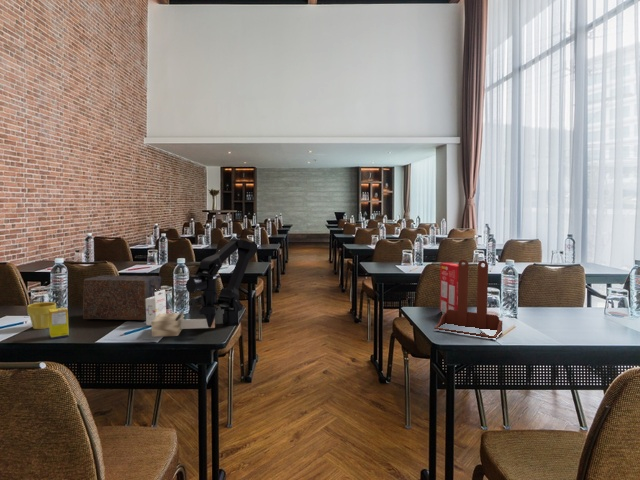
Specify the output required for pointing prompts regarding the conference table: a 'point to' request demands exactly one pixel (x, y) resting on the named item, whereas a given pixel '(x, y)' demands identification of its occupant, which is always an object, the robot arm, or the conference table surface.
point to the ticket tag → (195, 323)
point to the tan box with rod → (167, 324)
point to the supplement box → (58, 323)
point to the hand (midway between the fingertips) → (209, 326)
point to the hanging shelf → (461, 314)
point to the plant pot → (40, 314)
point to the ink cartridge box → (155, 306)
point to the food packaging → (448, 287)
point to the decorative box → (118, 296)
